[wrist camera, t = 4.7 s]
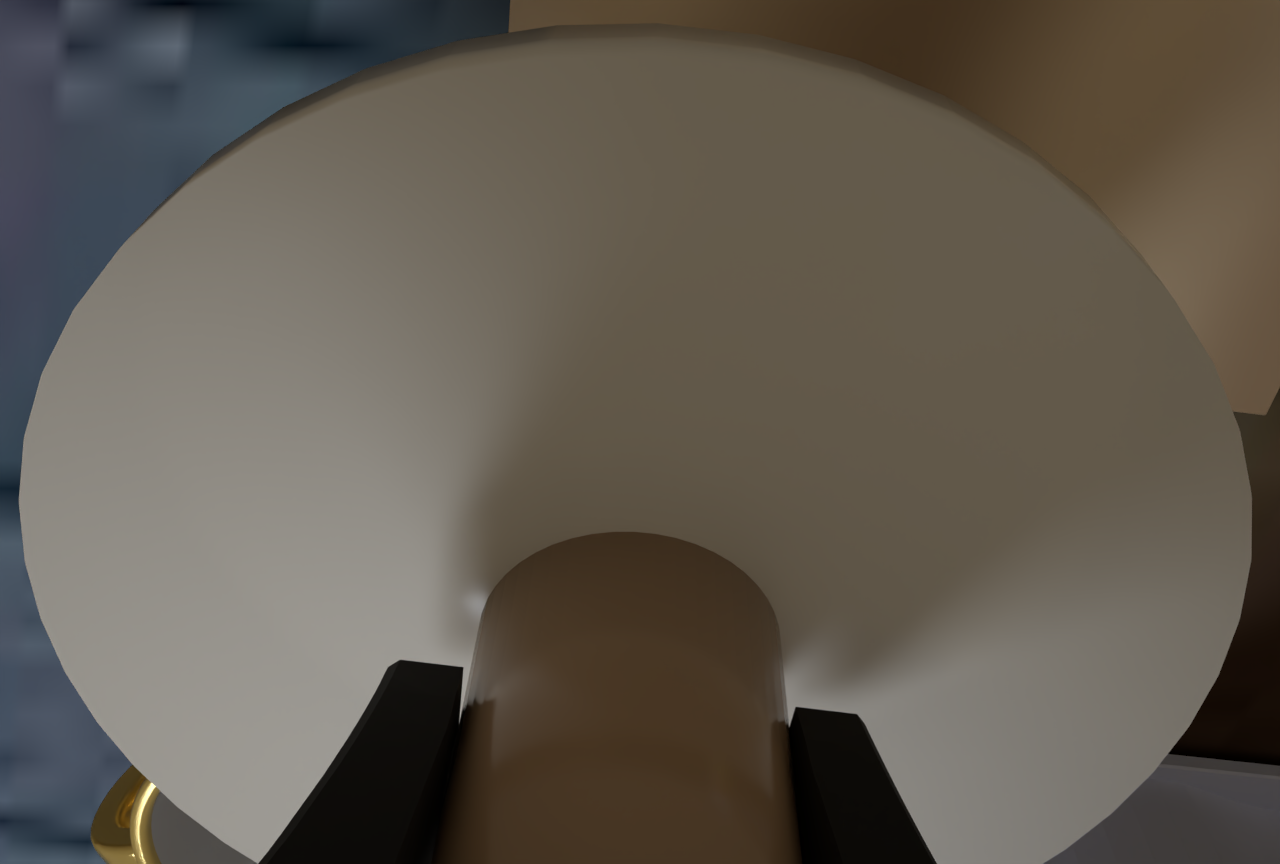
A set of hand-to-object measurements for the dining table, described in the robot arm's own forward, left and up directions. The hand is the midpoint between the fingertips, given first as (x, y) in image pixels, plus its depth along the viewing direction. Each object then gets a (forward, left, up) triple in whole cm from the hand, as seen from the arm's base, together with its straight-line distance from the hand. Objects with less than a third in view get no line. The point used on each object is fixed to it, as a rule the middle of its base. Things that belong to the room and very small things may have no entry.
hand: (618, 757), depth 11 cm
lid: (0, 0, -2) cm, 2 cm away
